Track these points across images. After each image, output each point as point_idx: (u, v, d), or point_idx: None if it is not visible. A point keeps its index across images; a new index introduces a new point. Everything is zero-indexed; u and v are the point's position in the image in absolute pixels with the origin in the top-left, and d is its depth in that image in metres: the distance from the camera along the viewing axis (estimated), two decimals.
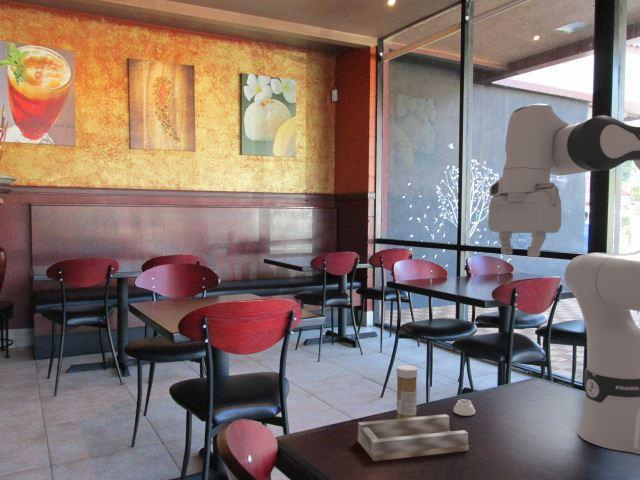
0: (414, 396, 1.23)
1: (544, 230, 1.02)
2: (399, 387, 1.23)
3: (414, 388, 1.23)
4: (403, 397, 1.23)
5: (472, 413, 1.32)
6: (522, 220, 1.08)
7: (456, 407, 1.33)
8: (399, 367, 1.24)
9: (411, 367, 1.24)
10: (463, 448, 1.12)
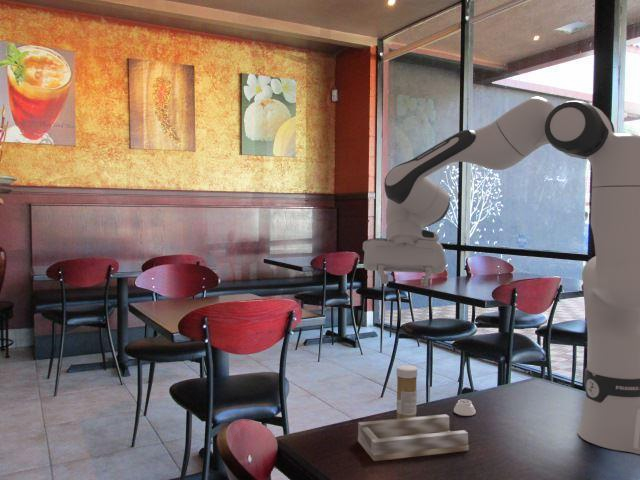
0: (414, 396, 1.23)
1: None
2: (399, 387, 1.23)
3: (414, 388, 1.23)
4: (403, 397, 1.23)
5: (472, 413, 1.32)
6: None
7: (456, 407, 1.33)
8: (399, 367, 1.24)
9: (411, 367, 1.24)
10: (463, 448, 1.12)
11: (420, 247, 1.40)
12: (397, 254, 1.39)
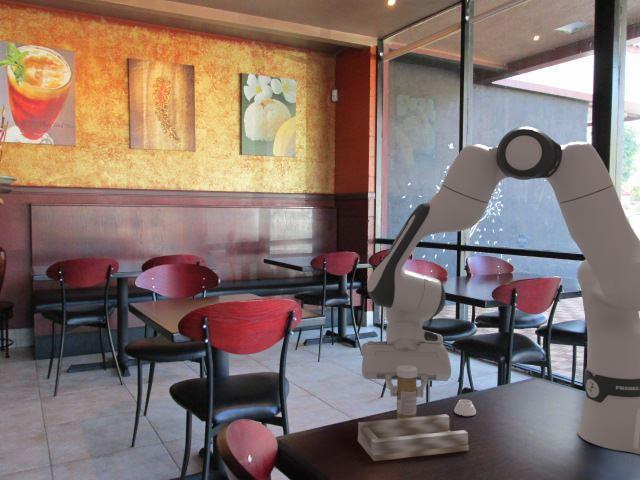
0: (414, 396, 1.23)
1: (364, 377, 1.29)
2: (399, 387, 1.23)
3: (414, 388, 1.23)
4: (403, 397, 1.23)
5: (473, 413, 1.32)
6: None
7: (457, 407, 1.33)
8: (399, 367, 1.24)
9: (411, 367, 1.24)
10: (463, 448, 1.12)
11: (423, 352, 1.29)
12: (398, 362, 1.28)
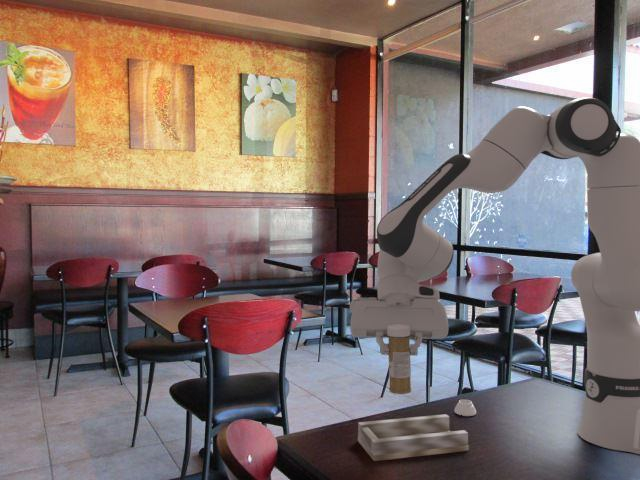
0: (407, 357, 1.11)
1: (353, 335, 1.18)
2: (390, 348, 1.12)
3: (407, 348, 1.12)
4: (395, 358, 1.11)
5: (473, 413, 1.32)
6: None
7: (457, 407, 1.33)
8: (390, 326, 1.13)
9: (403, 325, 1.13)
10: (463, 448, 1.12)
11: (417, 307, 1.18)
12: (389, 318, 1.16)
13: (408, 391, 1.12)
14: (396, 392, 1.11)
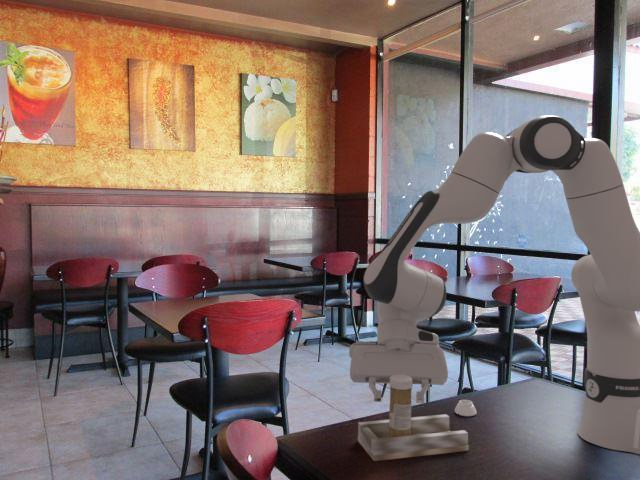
0: (408, 409, 1.12)
1: (353, 381, 1.18)
2: (392, 399, 1.12)
3: (408, 400, 1.12)
4: (396, 410, 1.11)
5: (473, 413, 1.32)
6: None
7: (457, 407, 1.33)
8: (392, 377, 1.13)
9: (406, 377, 1.13)
10: (463, 448, 1.12)
11: (417, 353, 1.18)
12: (389, 364, 1.17)
13: None
14: None
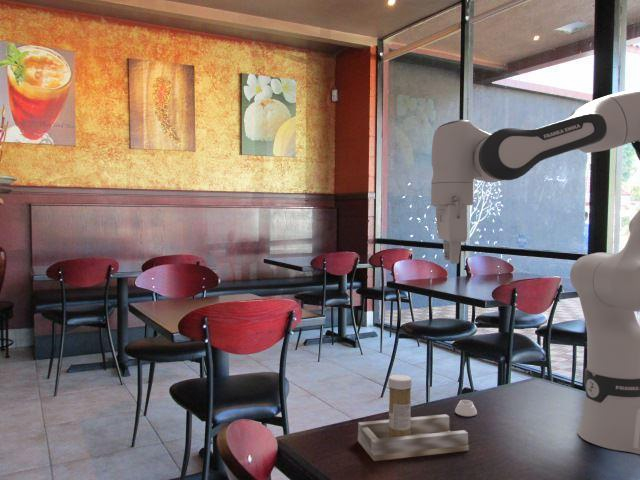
0: (408, 409, 1.12)
1: (451, 240, 1.11)
2: (391, 399, 1.12)
3: (408, 400, 1.12)
4: (396, 410, 1.11)
5: (474, 414, 1.31)
6: (444, 230, 1.18)
7: (458, 408, 1.33)
8: (391, 377, 1.13)
9: (405, 377, 1.13)
10: (463, 448, 1.12)
11: None
12: None
13: None
14: None
